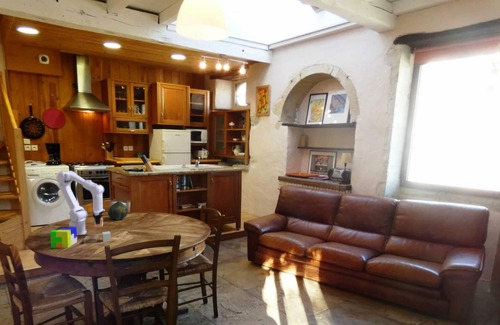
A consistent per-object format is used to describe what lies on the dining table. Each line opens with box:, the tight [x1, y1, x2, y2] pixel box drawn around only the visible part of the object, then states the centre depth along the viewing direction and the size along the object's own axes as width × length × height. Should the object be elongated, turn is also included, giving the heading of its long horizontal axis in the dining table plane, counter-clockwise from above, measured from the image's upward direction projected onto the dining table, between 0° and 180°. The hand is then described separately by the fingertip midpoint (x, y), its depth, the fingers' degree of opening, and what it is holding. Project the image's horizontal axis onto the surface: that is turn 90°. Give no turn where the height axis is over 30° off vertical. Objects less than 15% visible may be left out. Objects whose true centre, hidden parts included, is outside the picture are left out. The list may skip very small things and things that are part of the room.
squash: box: [107, 200, 129, 221], centre depth 242 cm, size 14×15×15 cm
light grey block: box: [101, 230, 112, 243], centre depth 192 cm, size 4×4×5 cm
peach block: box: [93, 217, 104, 228], centre depth 201 cm, size 4×4×5 cm
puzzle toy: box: [50, 226, 78, 249], centre depth 183 cm, size 10×10×10 cm
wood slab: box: [83, 234, 99, 244], centre depth 190 cm, size 7×7×3 cm
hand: (98, 223), depth 201 cm, fingers closed on peach block, 4 cm apart
